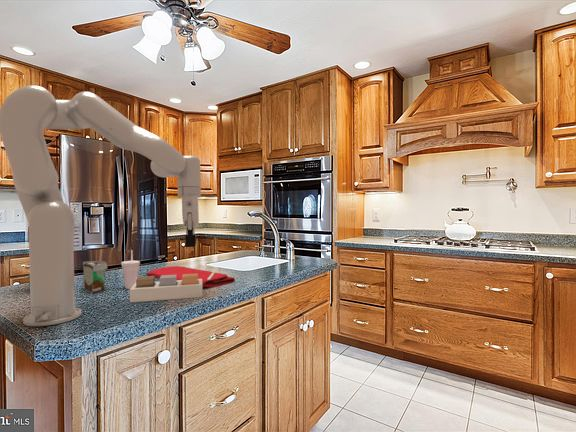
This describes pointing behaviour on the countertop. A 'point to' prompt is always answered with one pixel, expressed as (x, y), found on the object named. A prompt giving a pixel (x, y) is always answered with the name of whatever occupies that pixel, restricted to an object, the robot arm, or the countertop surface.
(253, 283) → the countertop surface
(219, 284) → the red folded towel
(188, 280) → the orange key
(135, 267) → the smoothie
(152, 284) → the walnut key
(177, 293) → the keypad
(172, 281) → the grey key
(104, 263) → the food container
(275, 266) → the countertop surface
